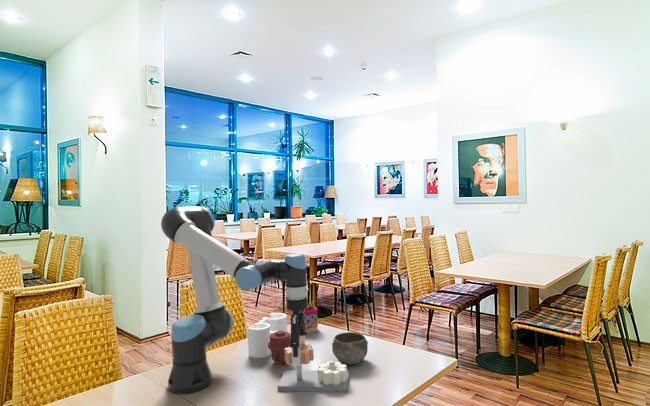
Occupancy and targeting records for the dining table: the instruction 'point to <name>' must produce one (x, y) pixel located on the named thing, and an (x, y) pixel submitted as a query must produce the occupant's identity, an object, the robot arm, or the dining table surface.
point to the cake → (311, 318)
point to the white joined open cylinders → (265, 334)
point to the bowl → (350, 347)
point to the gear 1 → (305, 354)
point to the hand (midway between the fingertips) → (299, 359)
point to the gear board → (309, 381)
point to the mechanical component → (279, 345)
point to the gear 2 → (332, 373)
